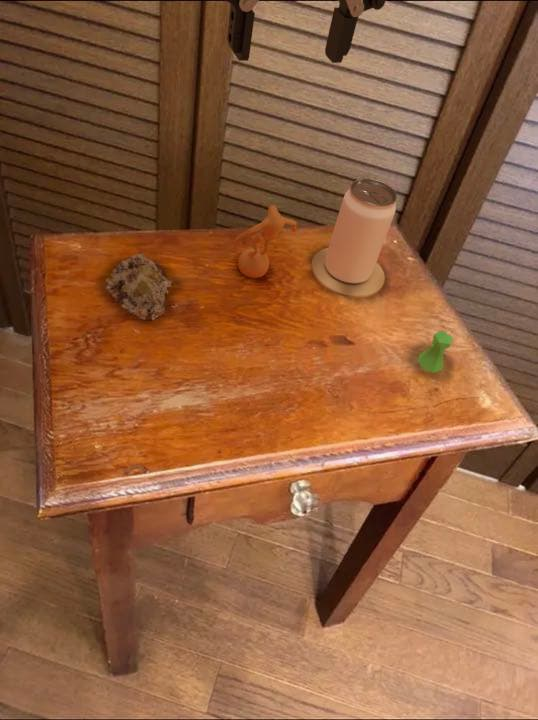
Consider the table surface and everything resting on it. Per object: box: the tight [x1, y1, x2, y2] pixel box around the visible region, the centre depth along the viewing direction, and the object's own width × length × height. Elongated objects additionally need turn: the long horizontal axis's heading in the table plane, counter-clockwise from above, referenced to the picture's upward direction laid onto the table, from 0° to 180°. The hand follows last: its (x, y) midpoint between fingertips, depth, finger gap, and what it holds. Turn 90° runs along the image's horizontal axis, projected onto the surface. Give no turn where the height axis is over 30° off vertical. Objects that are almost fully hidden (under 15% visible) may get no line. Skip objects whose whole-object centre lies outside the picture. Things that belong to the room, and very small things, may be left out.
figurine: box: [232, 204, 298, 279], centre depth 72 cm, size 8×6×12 cm
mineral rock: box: [105, 253, 174, 321], centre depth 70 cm, size 11×4×8 cm
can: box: [325, 177, 398, 284], centre depth 74 cm, size 6×6×12 cm
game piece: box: [417, 330, 453, 374], centre depth 68 cm, size 4×4×6 cm
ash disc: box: [310, 247, 386, 299], centre depth 79 cm, size 10×10×2 cm
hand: (288, 58), depth 50 cm, fingers open, 8 cm apart
